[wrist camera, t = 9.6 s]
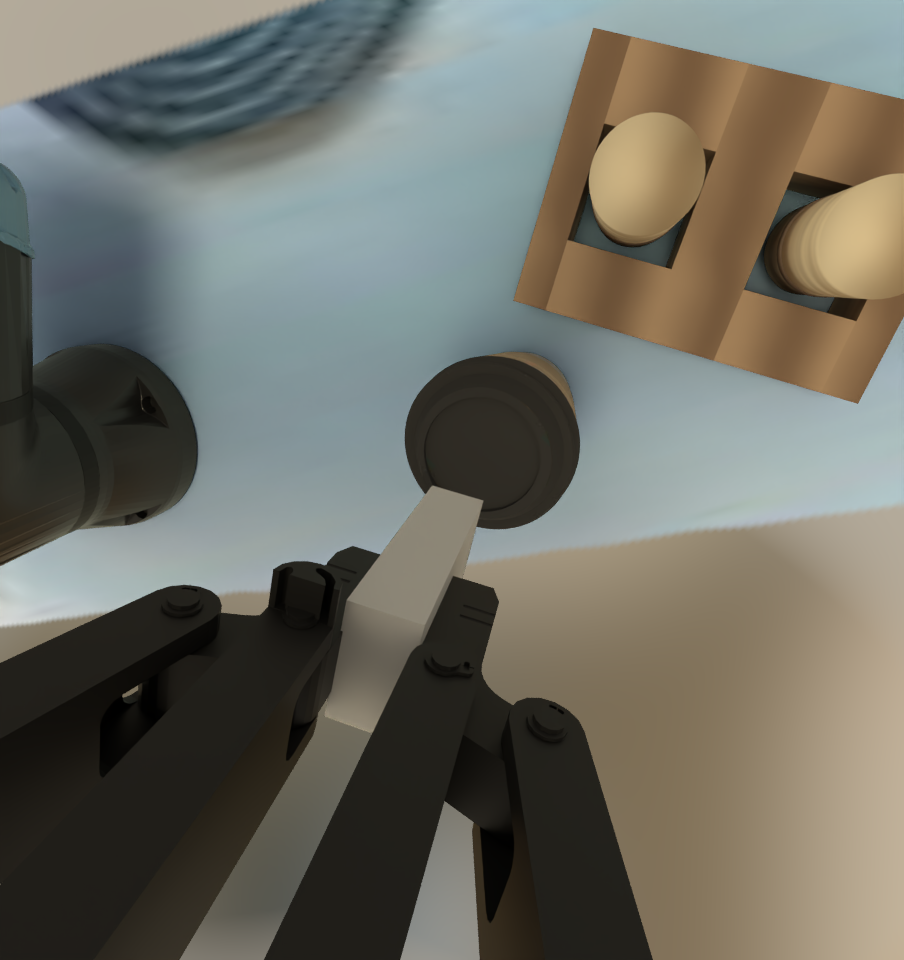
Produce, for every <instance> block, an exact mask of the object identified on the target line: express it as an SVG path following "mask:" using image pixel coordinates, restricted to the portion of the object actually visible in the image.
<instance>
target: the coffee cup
mask: <svg viewBox="0 0 904 960" xmlns="http://www.w3.org/2000/svg"><path fill="white" fill-rule="evenodd" d="M405 448H406V454H407V459H408V462H409V465H410V468H411V471H412V473H413V475H414V477H415V479H416V481H417V483H418V484H419V486H420V487H421V489H422V490H423V492H424V493H425V494H426V493H427V492H428V491H429V489H430V488H431V487H432V486H435V487H439V488H442V489H446V490H449V491H452V492H456V493H459V494H463V495H466V496H469V497H473V498H476V499H480V500H483V504H482V508H481V511H480V515H479V519H478V522H477V526H476V527H481V528H487V529H508V528H514V527H518V526H522V525H525V524H528V523H530V522H532V521H534V520H536V519H538V518H539V517H541V516H542V515H544V514H545V513H546V512H548V511H549V510H550V509H551V508H552V507H553V506H554V505H555V504H556V503H557V502H558V500H559V499H560V498H561V496H562V495H563V494H564V492H565V491H566V489H567V488H568V486H569V484H570V482H571V481H572V478H573V476H574V474H575V471H576V468H577V464H578V459H579V452H580V437H579V429H578V425H577V421H576V414H575V408H574V402H573V398H572V394H571V392H570V388H569V385H568V383H567V380H566V379H565V377H564V375H563V374H562V372H561V371H560V370H559V369H558V368H557V367H556V366H555V365H554V364H553V363H552V362H550V361H549V360H547V359H546V358H544V357H542V356H539V355H536V354H533V353H527V352H504V353H498V354H493V355H487V356H480V357H473V358H469V359H465V360H462V361H460V362H457V363H455V364H453V365H451V366H449V367H447V368H445V369H444V370H442V371H441V372H440V373H438V374H437V375H436V376H435V377H434V378H433V379H432V380H430V382H428V383H427V384H426V385H425V386H424V388H423V389H422V390H421V391H420V393H419V394H418V395H417V397H416V399H415V400H414V402H413V404H412V406H411V409H410V411H409V414H408V417H407V422H406V428H405Z"/></svg>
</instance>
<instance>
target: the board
mask: <svg viewBox="0 0 904 960" xmlns="http://www.w3.org/2000/svg"><path fill="white" fill-rule="evenodd" d="M651 112H655V113H665V114H669V115H672V116H675V117H677V118H679V119H681V120H682V121H684V122H685V123H686V124H688V125H689V126H690V127H691V128H692V129H693V131H694V132H695V133H696V135H697V136H698V138H699V140H700V142H701V144H702V147H703V150H704V155H705V164H706V168H705V177H704V183H703V186H702V189H701V192H700V194H699V196H698V198H697V200H696V202H695V203H694V205H693V206H692V208H691V209H690V210H689V212H688V213H687V214H686V215H685V217H684V219H683V222H682V225H681V227H680V230H679V233H678V235H677V238H676V241H675V243H674V246H673V249H672V251H671V254H670V257H669V259H668V262H667V265H666V267H662V266H658V265H654V264H651V263H647V262H644V261H640V260H637V259H633V258H630V257H626V256H622V255H619V254H615V253H612V252H608V251H605V250H601V249H597V248H594V247H590V246H587V245H583V244H580V243H576V242H574V239H575V236H576V233H577V229H578V226H579V223H580V220H581V217H582V214H583V211H584V207H585V204H586V201H587V198H588V195H589V192H590V190H589V174H590V168H591V164H592V160H593V158H594V155H595V153H596V151H597V149H598V147H599V145H600V144H601V142H602V141H603V139H604V138H605V137H606V136H607V135H608V134H609V133H610V132H611V131H612V130H613V129H614V128H615V127H616V126H618V125H619V124H620V123H622V122H624V121H625V120H627V119H629V118H631V117H634V116H636V115H640V114H644V113H651ZM899 173H901V174H904V99H900V98H895V97H891V96H887V95H882V94H878V93H874V92H869V91H865V90H861V89H856V88H852V87H848V86H843V85H839V84H835V83H830V82H826V81H821V80H817V79H813V78H808V77H804V76H800V75H795V74H791V73H787V72H782V71H778V70H774V69H769V68H765V67H761V66H756V65H752V64H748V63H743V62H739V61H735V60H730V59H726V58H722V57H717V56H713V55H709V54H704V53H700V52H696V51H691V50H687V49H683V48H678V47H674V46H670V45H665V44H661V43H657V42H652V41H648V40H644V39H639V38H635V37H631V36H626V35H622V34H618V33H613V32H609V31H604V30H600V29H596V28H593V31H592V35H591V38H590V42H589V45H588V48H587V52H586V55H585V59H584V62H583V65H582V69H581V72H580V76H579V79H578V82H577V86H576V89H575V93H574V96H573V99H572V103H571V106H570V110H569V113H568V116H567V120H566V123H565V127H564V130H563V133H562V137H561V140H560V144H559V147H558V150H557V154H556V157H555V161H554V164H553V167H552V171H551V174H550V178H549V181H548V185H547V188H546V191H545V195H544V198H543V202H542V205H541V208H540V212H539V215H538V219H537V222H536V225H535V229H534V232H533V236H532V239H531V242H530V246H529V249H528V253H527V256H526V259H525V263H524V266H523V270H522V273H521V276H520V280H519V283H518V287H517V290H516V293H515V297H514V300H513V301H516V302H520V303H523V304H526V305H530V306H533V307H536V308H540V309H543V310H546V311H550V312H553V313H557V314H560V315H563V316H567V317H570V318H573V319H577V320H580V321H583V322H587V323H590V324H593V325H597V326H600V327H603V328H607V329H610V330H613V331H617V332H620V333H623V334H627V335H630V336H633V337H637V338H640V339H643V340H647V341H650V342H653V343H657V344H660V345H664V346H667V347H670V348H674V349H677V350H680V351H684V352H687V353H690V354H694V355H697V356H700V357H704V358H707V359H710V360H714V361H717V362H720V363H724V364H727V365H730V366H734V367H737V368H740V369H744V370H747V371H750V372H754V373H757V374H760V375H764V376H767V377H771V378H774V379H777V380H781V381H784V382H787V383H791V384H794V385H797V386H801V387H804V388H807V389H811V390H814V391H817V392H821V393H824V394H827V395H831V396H834V397H837V398H841V399H844V400H847V401H851V402H854V403H857V404H858V402H859V401H860V399H861V397H862V395H863V393H864V391H865V389H866V387H867V385H868V383H869V382H870V380H871V378H872V376H873V374H874V372H875V370H876V368H877V366H878V364H879V363H880V361H881V359H882V357H883V355H884V353H885V351H886V349H887V347H888V345H889V344H890V342H891V340H892V338H893V336H894V334H895V332H896V330H897V328H898V326H899V324H900V323H901V321H902V319H903V317H904V293H903V294H901V295H898V296H894V297H891V298H885V299H875V300H871V299H857V298H842V297H835V299H834V301H833V303H832V305H831V307H830V309H829V311H828V313H825V312H822V311H818V310H814V309H811V308H807V307H804V306H800V305H797V304H793V303H790V302H786V301H782V300H779V299H775V298H772V297H768V296H765V295H761V294H758V293H754V292H750V291H747V290H744V288H745V285H746V283H747V281H748V278H749V276H750V274H751V271H752V269H753V267H754V264H755V262H756V260H757V257H758V255H759V252H760V250H761V248H762V245H763V243H764V241H765V238H766V236H767V234H768V231H769V229H770V227H771V224H772V222H773V220H774V217H775V215H776V212H777V210H778V208H779V205H780V203H781V201H782V198H783V196H784V194H785V191H786V190H790V191H794V192H798V193H802V194H806V195H810V196H814V197H818V198H823V197H826V196H829V195H833V194H836V193H838V192H841V191H843V190H846V189H849V188H851V187H854V186H856V185H859V184H861V183H864V182H866V181H869V180H871V179H874V178H877V177H880V176H884V175H889V174H899Z"/></svg>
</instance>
